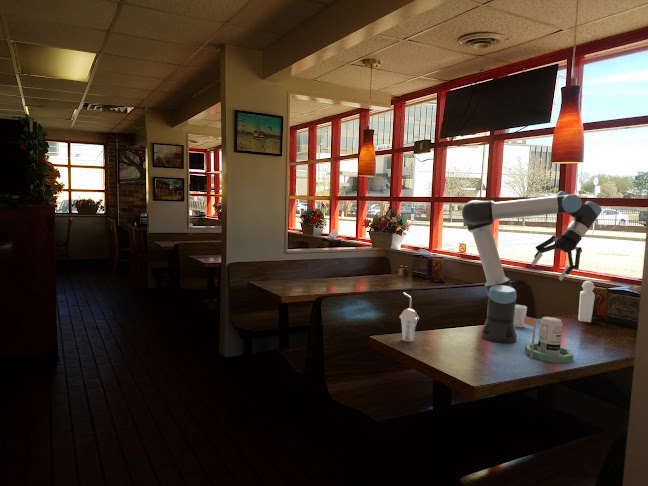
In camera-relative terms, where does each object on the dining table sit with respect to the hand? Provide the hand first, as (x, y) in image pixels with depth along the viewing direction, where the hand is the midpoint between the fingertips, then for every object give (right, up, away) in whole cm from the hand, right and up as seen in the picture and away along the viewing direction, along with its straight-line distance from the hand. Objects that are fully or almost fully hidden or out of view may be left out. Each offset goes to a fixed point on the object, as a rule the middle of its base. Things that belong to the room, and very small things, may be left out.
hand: (545, 272), depth 210 cm
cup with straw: (-63, -29, -6) cm, 70 cm away
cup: (-7, -33, -18) cm, 38 cm away
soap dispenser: (+43, -30, +45) cm, 69 cm away
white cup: (-2, -29, +28) cm, 40 cm away
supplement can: (-7, -33, -18) cm, 38 cm away
